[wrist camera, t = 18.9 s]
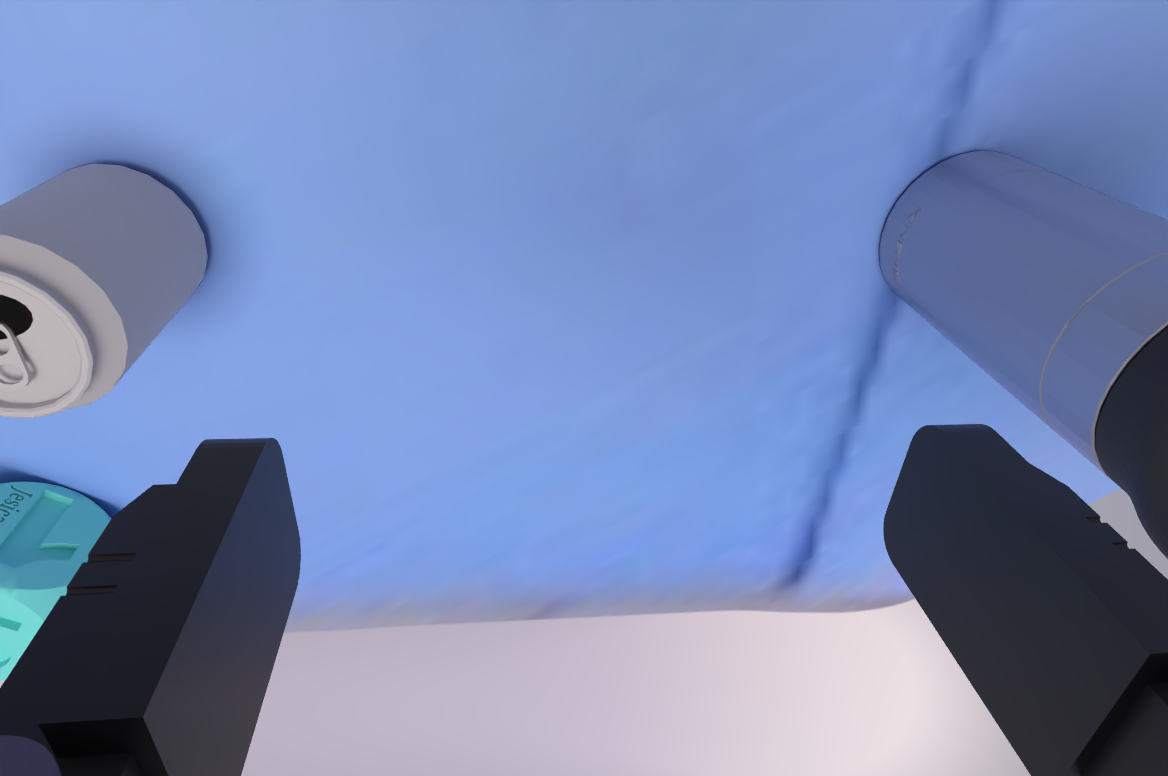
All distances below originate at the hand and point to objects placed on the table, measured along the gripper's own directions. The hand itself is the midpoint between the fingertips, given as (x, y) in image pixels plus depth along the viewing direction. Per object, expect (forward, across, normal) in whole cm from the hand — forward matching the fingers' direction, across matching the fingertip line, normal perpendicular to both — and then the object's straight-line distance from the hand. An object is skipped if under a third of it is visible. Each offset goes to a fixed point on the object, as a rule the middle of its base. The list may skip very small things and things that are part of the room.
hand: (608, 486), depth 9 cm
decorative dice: (+30, +29, +27) cm, 49 cm away
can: (+30, +19, +7) cm, 36 cm away
